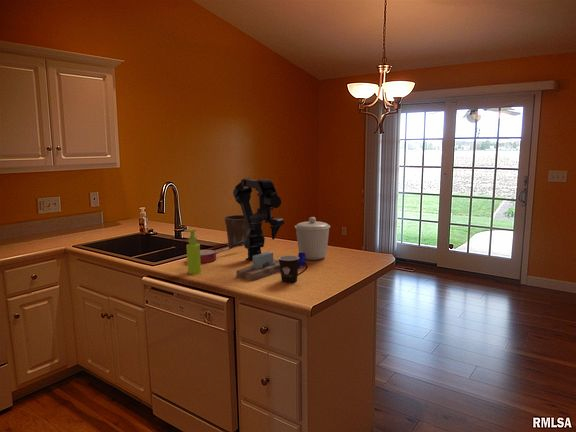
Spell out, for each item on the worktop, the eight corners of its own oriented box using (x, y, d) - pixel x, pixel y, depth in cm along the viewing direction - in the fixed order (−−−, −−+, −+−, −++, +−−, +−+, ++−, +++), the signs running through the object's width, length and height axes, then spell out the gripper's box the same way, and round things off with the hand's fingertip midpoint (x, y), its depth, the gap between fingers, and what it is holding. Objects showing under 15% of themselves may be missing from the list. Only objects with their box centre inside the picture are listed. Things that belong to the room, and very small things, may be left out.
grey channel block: (253, 274, 194) (252, 256, 193) (268, 269, 202) (267, 251, 201) (258, 275, 192) (258, 257, 191) (273, 270, 200) (273, 252, 198)
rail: (236, 276, 191) (236, 270, 191) (272, 265, 209) (272, 259, 209) (252, 280, 185) (252, 274, 184) (288, 268, 203) (288, 262, 203)
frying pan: (232, 249, 245) (231, 238, 244) (248, 252, 236) (248, 241, 235) (185, 261, 221) (184, 248, 220) (201, 265, 212) (200, 252, 211)
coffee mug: (275, 281, 184) (274, 258, 182) (289, 276, 190) (289, 254, 188) (294, 286, 176) (294, 262, 174) (309, 282, 182) (308, 258, 180)
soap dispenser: (184, 271, 200) (182, 229, 197) (199, 270, 203) (197, 228, 200) (186, 275, 195) (184, 231, 192) (202, 273, 197) (199, 230, 194)
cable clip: (293, 271, 198) (293, 258, 198) (285, 270, 201) (285, 257, 200) (308, 265, 208) (308, 253, 207) (300, 264, 211) (300, 252, 210)
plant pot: (258, 243, 259) (257, 216, 256) (236, 248, 248) (235, 220, 245) (241, 239, 271) (240, 214, 268) (219, 243, 260) (218, 217, 257)
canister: (325, 263, 211) (325, 220, 208) (290, 260, 217) (289, 219, 214) (334, 254, 228) (334, 214, 225) (301, 252, 234) (300, 213, 231)
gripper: (239, 206, 206) (240, 238, 208) (268, 209, 194) (269, 243, 196) (255, 204, 214) (256, 235, 217) (284, 206, 203) (285, 239, 205)
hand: (266, 238), depth 208 cm, fingers open, 9 cm apart
